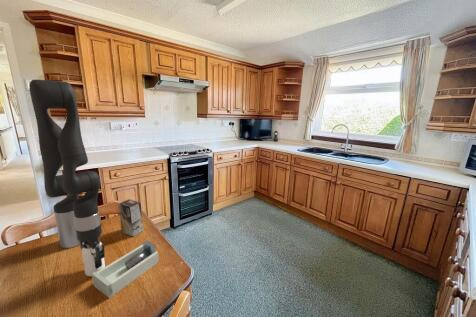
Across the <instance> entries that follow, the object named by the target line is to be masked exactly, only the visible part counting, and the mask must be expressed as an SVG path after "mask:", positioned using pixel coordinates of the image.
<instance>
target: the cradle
mask: <svg viewBox="0 0 476 317" xmlns="http://www.w3.org/2000/svg"><path fill="white" fill-rule="evenodd" d="M141 251H143V244H141V245H140V246H137V247H136V248H135V249H132V250H131V251H129V252H128V253H126V254H125V255H123V256H121V257H119V258H118V259H116V260H115V261H113V262H111V263H110V264H108V265H105V267H104V268H103V269H101V270H99V271H98V272H96V271H95V272H94V273H92V276H91V278H92V283H93V286H94V287H95V289H97V290H99V292H101V293H103V295H105V296H106V297H107V298H108V299H110V298H112V297H114V296H115V295H116V294H117V293H119V292H120V291H122V290H123V289H124V288H125V287H127V286H129V285H130V284H131V283H132V282H133V281H135V280H136V279H138V278H139V277H141V275H143V274H144V273H146V272H147V271H149V270H150V269H151V268H153V267H155V265H157V264H159V262H160V261H159V260H160V258H159V252H158V251H155V253H153V254H152V255H150V256H149V257H147V258H146V259H144V260H143V261H141V262H140V263H138V264H137V265H135V266H134V267H132V268H131V269H129V270H127V268H126V266H125V262H126V261H127V260H129V259H130V258H132V257H133V256H135V255H137V254H138V253H140V252H141Z"/></svg>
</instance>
